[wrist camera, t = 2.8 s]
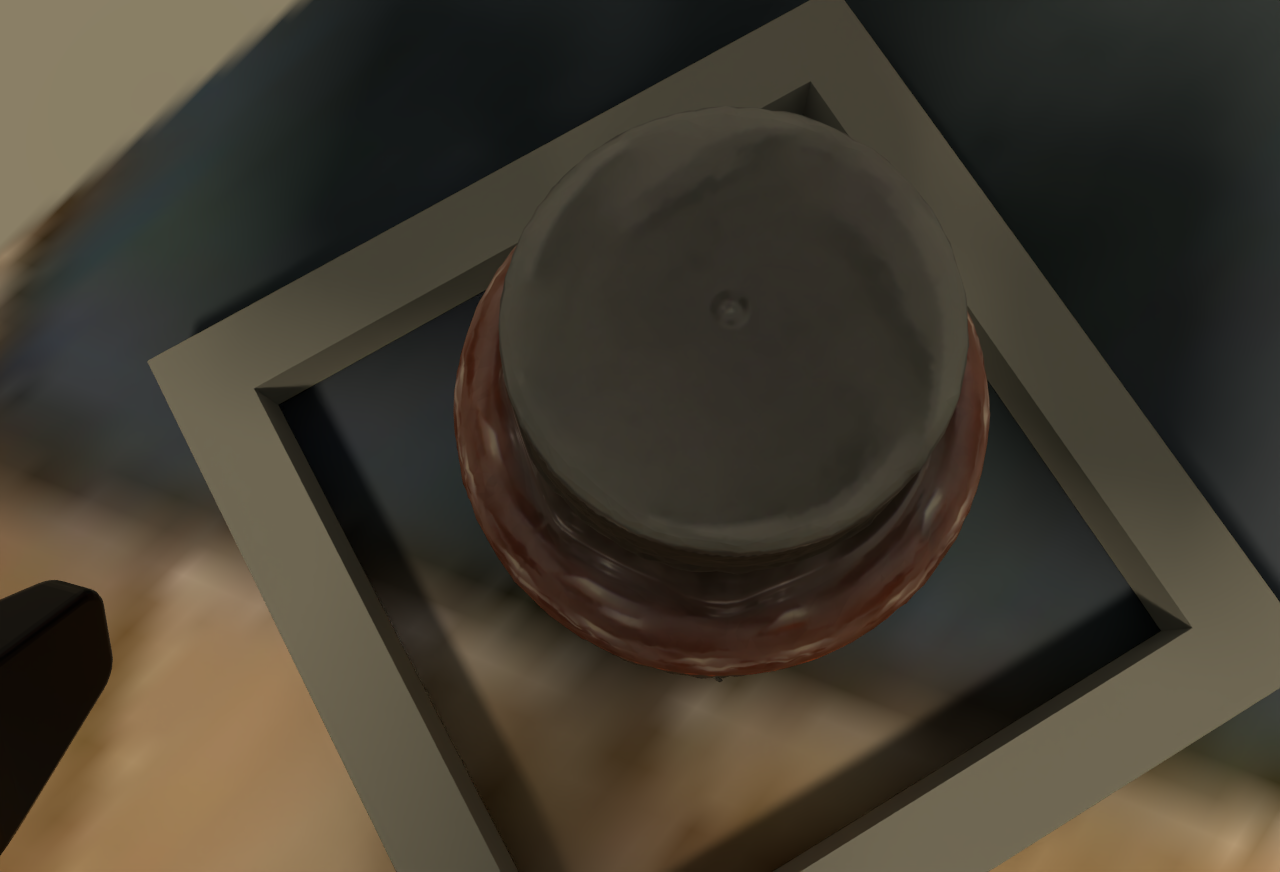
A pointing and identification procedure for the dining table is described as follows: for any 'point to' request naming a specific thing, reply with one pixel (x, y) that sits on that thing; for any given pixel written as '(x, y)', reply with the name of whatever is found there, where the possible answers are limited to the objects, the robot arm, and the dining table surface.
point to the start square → (1015, 367)
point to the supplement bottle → (724, 395)
